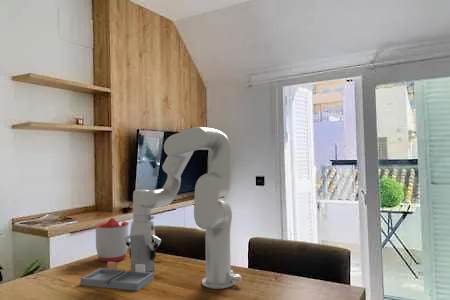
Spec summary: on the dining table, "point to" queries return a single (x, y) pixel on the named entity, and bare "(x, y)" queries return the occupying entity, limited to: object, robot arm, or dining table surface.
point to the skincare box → (140, 253)
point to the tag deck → (118, 277)
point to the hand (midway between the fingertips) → (142, 258)
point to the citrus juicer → (111, 240)
